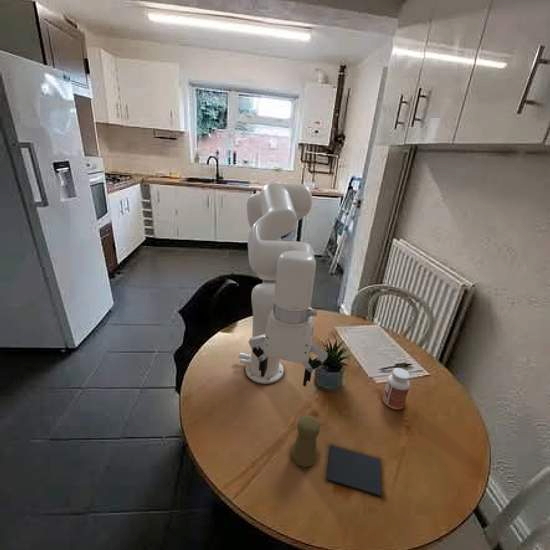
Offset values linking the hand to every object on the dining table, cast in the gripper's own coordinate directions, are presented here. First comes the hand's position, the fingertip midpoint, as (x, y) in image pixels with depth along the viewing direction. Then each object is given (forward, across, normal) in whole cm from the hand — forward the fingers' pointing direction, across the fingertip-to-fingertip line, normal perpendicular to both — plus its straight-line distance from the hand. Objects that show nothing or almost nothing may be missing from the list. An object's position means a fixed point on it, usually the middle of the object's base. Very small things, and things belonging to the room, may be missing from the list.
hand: (284, 377), depth 70 cm
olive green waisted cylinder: (+21, -7, +1) cm, 22 cm away
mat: (+21, -19, +2) cm, 28 cm away
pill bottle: (+21, -31, -24) cm, 44 cm away
